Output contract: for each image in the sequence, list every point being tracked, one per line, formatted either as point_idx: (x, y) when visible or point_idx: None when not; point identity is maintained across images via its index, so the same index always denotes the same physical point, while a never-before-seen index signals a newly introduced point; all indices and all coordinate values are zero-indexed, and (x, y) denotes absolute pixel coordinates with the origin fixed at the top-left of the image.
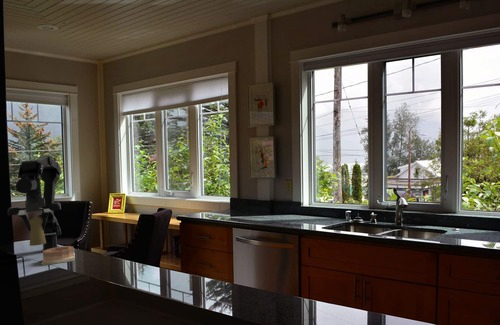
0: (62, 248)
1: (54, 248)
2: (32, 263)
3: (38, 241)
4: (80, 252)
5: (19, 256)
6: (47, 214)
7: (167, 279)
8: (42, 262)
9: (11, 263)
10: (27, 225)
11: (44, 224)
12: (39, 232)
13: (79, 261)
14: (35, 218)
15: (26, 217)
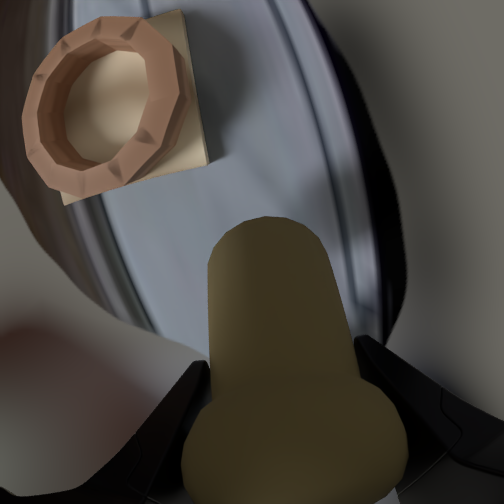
0: (82, 168)
1: (119, 151)
2: (260, 90)
3: (248, 233)
4: (73, 258)
5: (370, 324)
6: (46, 499)
7: None
8: (177, 10)
9: (386, 171)
10: (408, 373)
11: (170, 402)
12: (235, 298)
13: (36, 58)
14: (291, 489)
15: (479, 463)
